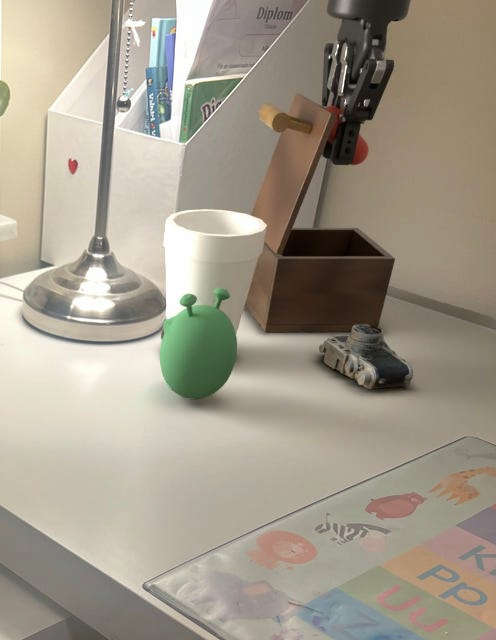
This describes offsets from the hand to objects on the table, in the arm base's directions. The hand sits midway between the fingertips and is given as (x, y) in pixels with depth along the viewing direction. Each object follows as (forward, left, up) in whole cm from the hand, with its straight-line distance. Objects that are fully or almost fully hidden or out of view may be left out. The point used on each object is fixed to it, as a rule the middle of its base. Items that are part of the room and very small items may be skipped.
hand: (336, 160), depth 101 cm
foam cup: (+15, +12, -16) cm, 25 cm away
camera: (-1, +17, -16) cm, 24 cm away
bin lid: (+4, 0, -1) cm, 5 cm away
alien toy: (+18, +22, -16) cm, 33 cm away
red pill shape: (+1, 0, +1) cm, 1 cm away
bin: (0, 0, -16) cm, 16 cm away
